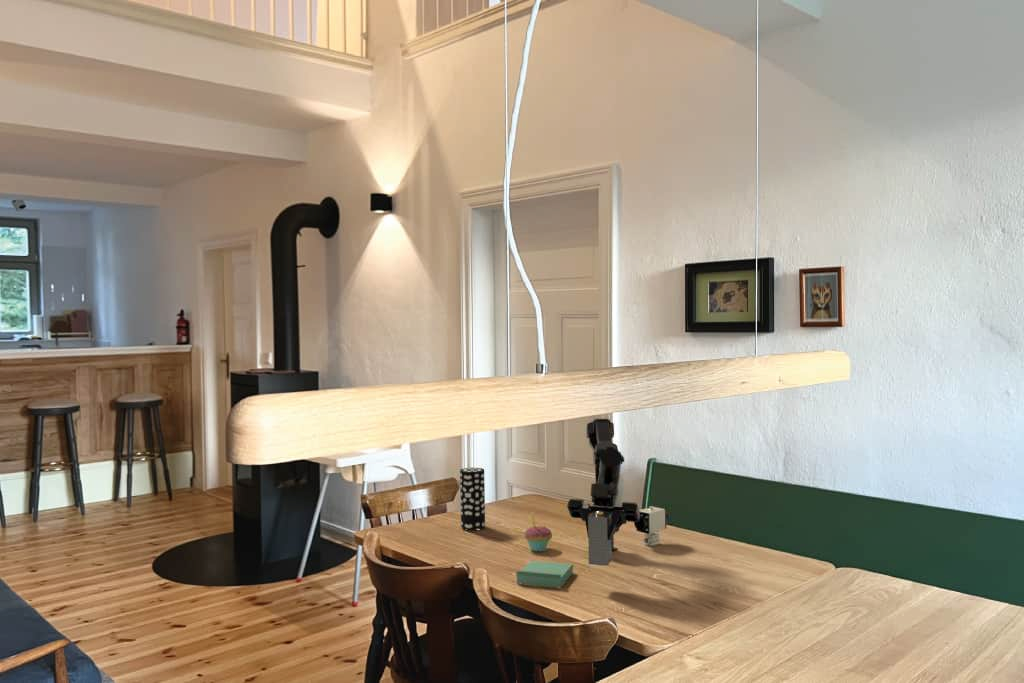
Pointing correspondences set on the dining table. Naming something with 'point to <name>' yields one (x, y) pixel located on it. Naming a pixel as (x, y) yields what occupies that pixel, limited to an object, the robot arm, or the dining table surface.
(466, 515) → the white-spotted black cylinder
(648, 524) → the white security camera
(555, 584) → the coupler stand
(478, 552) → the dining table surface
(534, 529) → the cupcake
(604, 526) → the block
